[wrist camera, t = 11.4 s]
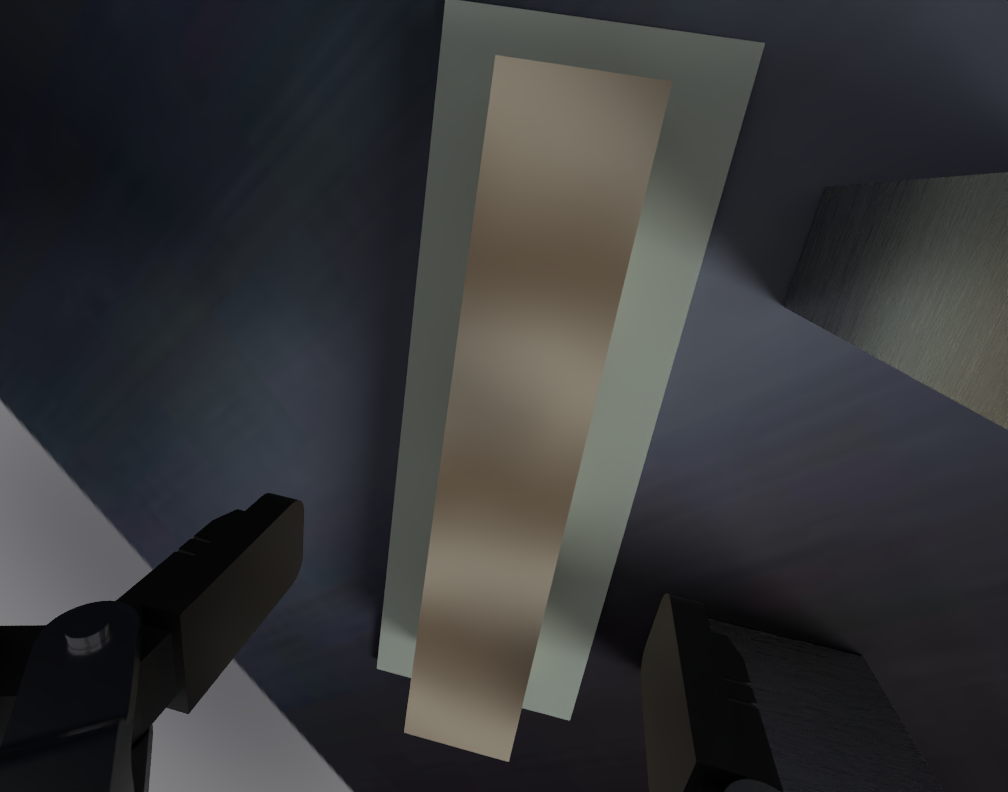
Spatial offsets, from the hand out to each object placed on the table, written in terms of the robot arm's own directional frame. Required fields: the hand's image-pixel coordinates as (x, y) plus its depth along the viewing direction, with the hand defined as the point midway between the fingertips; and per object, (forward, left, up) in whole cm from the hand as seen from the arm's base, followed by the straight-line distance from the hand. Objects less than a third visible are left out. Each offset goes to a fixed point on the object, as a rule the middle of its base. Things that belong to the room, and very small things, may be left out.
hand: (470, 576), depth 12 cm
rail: (0, 0, -8) cm, 8 cm away
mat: (0, 0, -9) cm, 9 cm away
